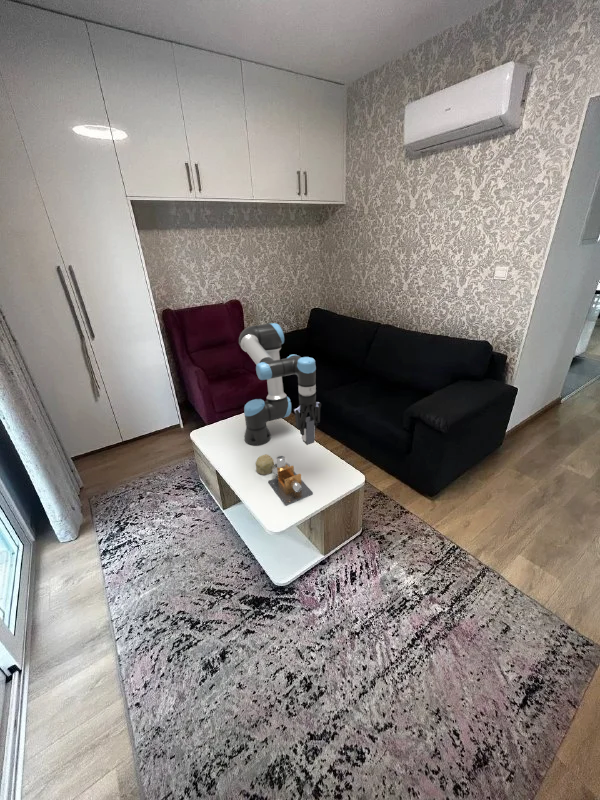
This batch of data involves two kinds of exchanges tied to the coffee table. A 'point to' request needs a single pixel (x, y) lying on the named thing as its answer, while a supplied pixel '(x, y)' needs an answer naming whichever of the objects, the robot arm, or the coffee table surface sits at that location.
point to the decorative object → (264, 464)
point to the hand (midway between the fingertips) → (308, 438)
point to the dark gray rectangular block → (309, 430)
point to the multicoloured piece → (288, 483)
